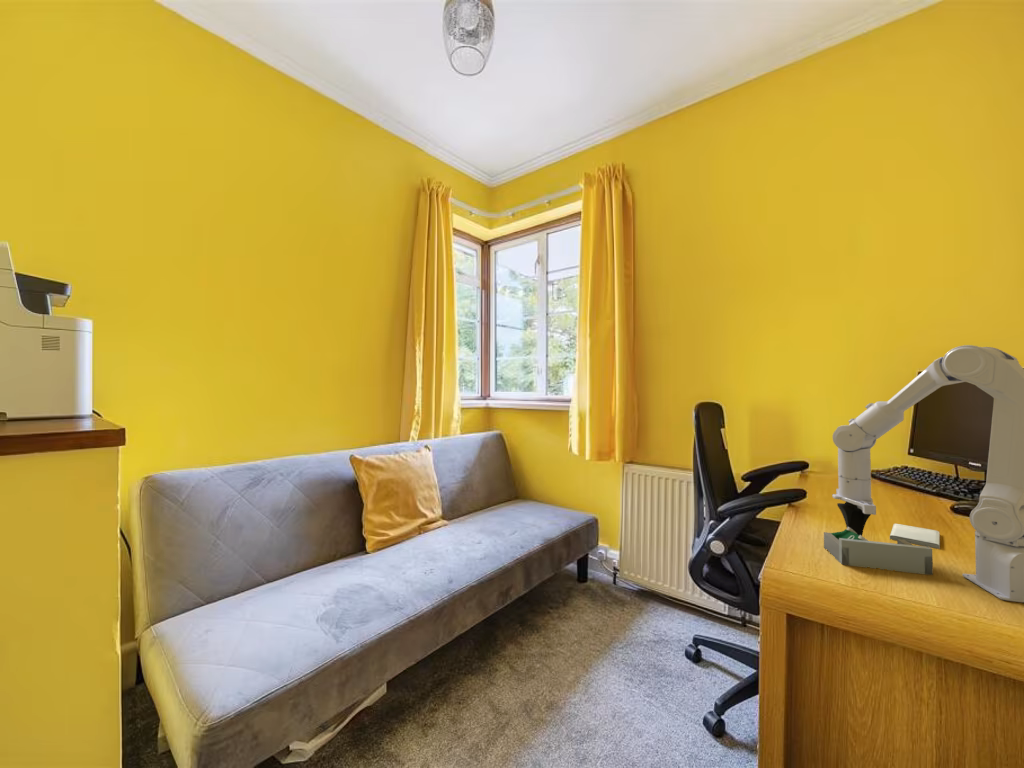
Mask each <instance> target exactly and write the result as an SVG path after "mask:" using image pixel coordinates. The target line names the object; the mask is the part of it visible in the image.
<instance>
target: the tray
mask: <svg viewBox="0 0 1024 768" xmlns="http://www.w3.org/2000/svg"><path fill="white" fill-rule="evenodd" d="M831 533H832V532H823V548H824V549H825V550H826V549H827V550H828V551H829V552H830V553H831V554H832V555H833V556H834V557H835V558H834V557H833V556H832V555H831V554H830V553H829V552H828V551H827V550H826V551H827V552H828V553H829V554H830V555H831V556H832V557H833V558H834V559H836V561H837V562H839V563H840V565H842V564H843V565H844V566H850V567H859V568H867V567H870V568H869V569H876V568H880V569H879V570H884V569H887V570H886V571H893V570H895V571H896V572H901V573H902V572H903V573H910V574H911V573H912V574H920V575H927V576H928V575H930V576H933V574H934V571H933V570H934V567H933V564H934V563H933V562H934V561H933V558H934V557H933V548H932V547H927V546H922V545H916V544H911V543H909V542H907V541H905V540H900V539H897V541H896V543H895V542H883V541H874V540H868V541H864V540H854V539H844V538H839V540H838V539H837V538H836V537H835V536H833V535H832V534H831ZM843 565H842V566H843Z"/></svg>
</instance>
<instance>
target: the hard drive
mask: <svg viewBox="0 0 1024 768" xmlns="http://www.w3.org/2000/svg"><path fill="white" fill-rule="evenodd" d="M891 528H892V529H891V531H890V534H889V540H891V539H892V541H896V542H897V539H900V540H905V541H907V542H909V543H910V544H912V545H916V546H925V547H929V548H931V549H936V550H940V549H941V547H940V546H941V540H940V539H941V536H940V535H941V534H940V531H938V530H936V529H930V528H924V527H917V526H911V525H906V524H900V523H893V525H892V527H891Z"/></svg>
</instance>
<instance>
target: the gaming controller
mask: <svg viewBox="0 0 1024 768" xmlns="http://www.w3.org/2000/svg"><path fill="white" fill-rule="evenodd" d="M830 533H831V534H832V535H833V536H835V537H836V538H837V539H838V540H839V538H844V539H854V540H864V541H869V540H868V539H867V538H866V537H864V536H863V535H862V536H861V535H858V534H857V533H856V532H855V531H853V529H851V528H850V527H848V528H847V527H846V528H845V529H844V530H842V531H837V532H830Z"/></svg>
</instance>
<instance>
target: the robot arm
mask: <svg viewBox="0 0 1024 768" xmlns="http://www.w3.org/2000/svg"><path fill="white" fill-rule="evenodd" d="M960 383H969V384H971V385H973V386H974V385H975V386H976V387H977V388H978V389H980V390H981V391H983V392H985V393H986V394H987V395H989V396H991V397H992V398H993V404H992V406H993V407H992V415H991V416H992V417H991V426H990V427H991V428H990V435H989V448H988V449H989V450H988V457H987V466H986V467H987V471H986V478H985V479H986V480H985V481H986V482H985V485H984V486H983V488H982V491H981V492H980V494H979V499H978V503H977V505H976V506H975V507H974V508H973V509H972V510H971V511H970V514H969V523H970V525H971V526H972V527H973V529H974V530H975V531H974V540H975V541H974V545H975V547H974V548H975V550H974V551H975V553H974V554H975V555H974V556H975V574H971V573H962V577H963V578H965V579H967V580H969V581H970V582H972V583H974V585H977V586H978V587H980V588H982V589H983V590H985V591H987V592H988V593H990V594H992V595H993V596H995V597H996V598H998V599H1000V600H1002V601H1008V602H1017V603H1024V368H1023V366H1022V365H1021V364H1020V363H1019V359H1018V358H1017V357H1015V356H1013V355H1011V354H1009V353H1007V352H1005V351H1003V350H1002V349H999V348H996V347H993V346H992V347H991V346H978V345H972V344H971V345H970V344H967V345H966V344H964V345H959V346H956V347H954V348H951V349H950V350H948V351H947V352H946V353H945V354H944V356H941V357H938V358H937V359H934V360H933V362H932V363H930V364H929V365H928V366H927V367H926V368H925V369H924V370H922V371H921V373H919V374H918V375H917V376H915V377H914V378H913V379H912V380H910V382H909V383H907V384H906V385H905V386H904V387H902V388H901V389H900V390H899V391H898V392H897V393H895V394H894V395H893V396H892V397H891V398H890V399H889V400H886V401H885V400H884V401H883V400H879V401H875V403H874V402H871V403H870V402H869V403H868V404H866V406H865V408H866V409H865V410H864V411H863V412H862V413H860V414H859V415H858V416H857V417H855V418H850V419H849V420H848V424H844V425H840V426H837V428H836V429H835V430H834V432H833V433H832V442H833V444H834V445H835V447H837V466H838V467H837V476H838V483H837V484H838V485H837V486H838V488H836V489H835V490H836V491H835V492H836V493H833V494H832V498H833V499H834V500H835V499H836V500H841V501H843V502H844V503H841V502H840V503H837V504H836V506H837V508H838V509H839V510H840V512H841V514H842V516H843V519H844V522H845V523H844V524H845V525H846V526H845V527H846V529H847V528H848V527H850V528H851V529H853V531H855V532H856V533H857V534H858V535H861V536H862V537H863V533H864V528H865V525H866V523H867V521H868V519H869V518H870V516H871V515H874V516H876V515H877V507H876V506H877V505H875V504H874V500H873V498H872V472H871V471H872V468H871V467H872V466H871V465H872V464H871V463H872V462H871V449H872V448H873V447H874V446H875V445H876V443H877V440H878V439H880V438H881V437H883V436H884V435H886V434H887V433H888V432H889V431H891V430H892V429H893V428H895V427H896V426H898V425H899V424H900V423H902V422H903V421H904V419H905V411H907V410H908V409H910V408H911V407H912V406H914V405H916V404H917V403H919V402H920V401H921V400H923V399H925V398H926V397H928V396H930V394H932V393H934V392H935V391H937V390H938V389H940V388H941V387H944V386H949V385H955V384H960Z"/></svg>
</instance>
